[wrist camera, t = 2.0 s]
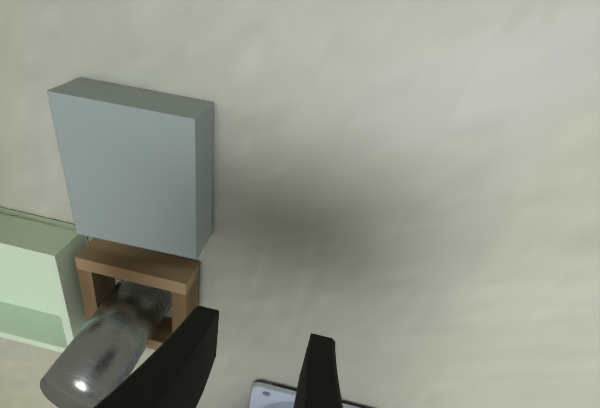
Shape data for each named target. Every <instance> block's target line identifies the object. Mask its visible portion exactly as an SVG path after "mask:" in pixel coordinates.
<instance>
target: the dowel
mask: <svg viewBox="0 0 600 408" xmlns="http://www.w3.org/2000/svg"><path fill="white" fill-rule="evenodd" d="M171 305H172V294H171V291H167V290H163V289H158V288H154V287H150V286H146V285H142V284H138V283H134V282H130V281H126V280H122V279H121V280H120V281H119V282H118V283H117V285H116V286H115V287H114V288H113V290H112V291H111V292H110V294H109V295H108V296H107V297H106V299H105V300H104V301H103V302H102V304H101V305H100V306H99V307H98V309H97V310H96V311H95V312H94V314H93V315H92V316H91V317H90V319H89V320H88V321H87V322H86V324H85V325H84V326H83V327H82V329H81V330H80V331H79V333H78V334H77V335H76V336H75V338H74V339H73V340H72V341H71V343H70V344H69V345H68V346H67V348H66V349H65V350H64V351H63V353H62V354H61V355H60V356H59V358H58V359H57V360H56V361H55V363H54V364H53V365H52V367H51V368H50V369H49V370H48V372H47V373H46V374H45V375H44V377H43V378H42V379H41V381H40V388H41V390H42V392H43V394H44V395H45V396H46V398H47V399H48V400H49V401H51V402H52V403H53V404H54V405H56V406H57V407H59V408H93V407H95V406H96V405H97V404H98V403H99V402H101V401H102V400H103V399H104V398H105V397H106V396H108V395H109V394H110V393H111V392H112V391H113V390H114V389H116V388H117V387H118V386H119V385H120V384H121V383H122V382H123V381H124V380H125V379H127V378H128V377H129V376H130V374H131V372H132V371H133V369H134V367H135V366H136V364H137V362H138V360H139V359H140V357H141V355H142V354H143V352H144V350H145V349H146V347H147V345H148V344H149V342H150V340H151V339H152V337H153V335H154V333H155V332H156V330H157V328H158V327H159V325H160V323H161V322H162V320H163V318H164V317H165V315H166V313H167V311H168V310H169V308H170V306H171Z"/></svg>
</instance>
